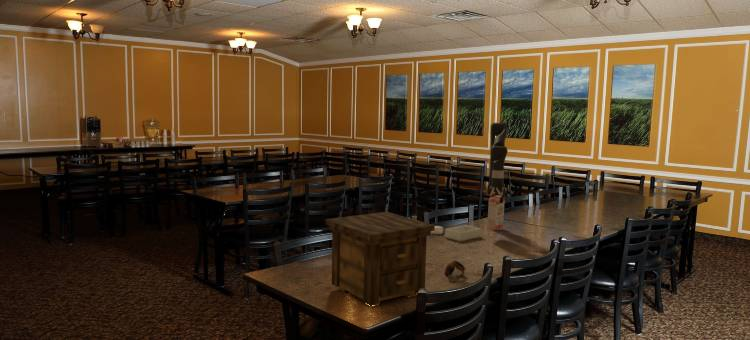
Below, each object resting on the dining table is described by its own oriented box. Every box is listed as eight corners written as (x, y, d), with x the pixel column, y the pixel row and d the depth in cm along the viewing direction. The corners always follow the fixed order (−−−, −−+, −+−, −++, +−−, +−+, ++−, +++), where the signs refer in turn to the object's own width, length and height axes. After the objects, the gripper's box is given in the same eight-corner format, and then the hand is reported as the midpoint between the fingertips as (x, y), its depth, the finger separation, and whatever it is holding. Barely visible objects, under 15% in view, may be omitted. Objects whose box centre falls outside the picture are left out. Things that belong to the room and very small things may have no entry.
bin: (445, 237, 344) (445, 228, 343) (466, 233, 357) (466, 225, 356) (459, 241, 334) (460, 232, 334) (480, 237, 347) (481, 228, 347)
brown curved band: (446, 271, 273) (455, 258, 272) (460, 283, 269) (469, 270, 267) (437, 271, 263) (446, 258, 262) (452, 283, 258) (461, 269, 257)
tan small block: (436, 231, 363) (436, 225, 362) (445, 233, 356) (445, 227, 356) (428, 232, 358) (428, 226, 357) (437, 234, 351) (437, 229, 351)
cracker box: (495, 231, 335) (497, 198, 332) (486, 229, 338) (488, 197, 336) (503, 227, 346) (505, 195, 344) (495, 225, 350) (496, 194, 347)
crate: (385, 275, 263) (386, 211, 259) (432, 296, 235) (434, 225, 231) (324, 288, 242) (325, 219, 239) (368, 313, 214) (369, 235, 210)
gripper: (510, 177, 335) (509, 203, 337) (492, 175, 346) (491, 200, 348) (503, 178, 330) (502, 204, 332) (485, 176, 341) (484, 201, 343)
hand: (496, 202), depth 340 cm, fingers closed on cracker box, 6 cm apart
